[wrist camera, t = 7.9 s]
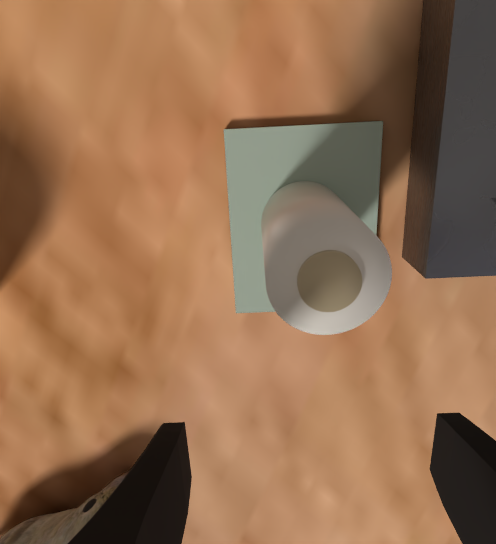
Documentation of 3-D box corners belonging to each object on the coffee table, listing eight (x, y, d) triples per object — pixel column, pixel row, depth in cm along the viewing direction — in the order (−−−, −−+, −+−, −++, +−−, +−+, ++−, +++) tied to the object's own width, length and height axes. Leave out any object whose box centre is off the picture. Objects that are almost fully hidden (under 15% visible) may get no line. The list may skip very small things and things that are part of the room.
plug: (342, 262, 20) (387, 339, 14) (260, 263, 20) (265, 339, 14) (348, 180, 19) (402, 220, 12) (261, 181, 19) (266, 221, 12)
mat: (369, 303, 22) (372, 307, 21) (236, 308, 22) (235, 313, 21) (379, 121, 19) (383, 121, 18) (224, 129, 19) (223, 129, 18)
